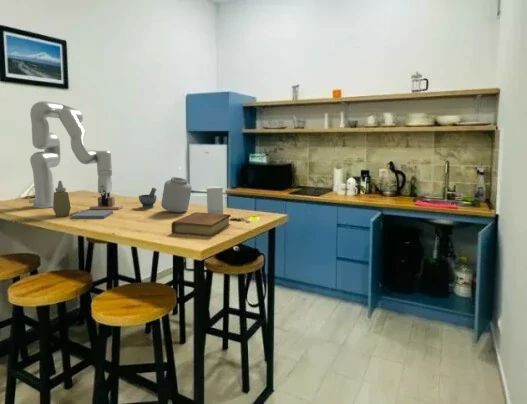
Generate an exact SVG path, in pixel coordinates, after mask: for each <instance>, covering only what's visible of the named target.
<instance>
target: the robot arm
mask: <svg viewBox="0 0 527 404" xmlns="http://www.w3.org/2000/svg"><path fill="white" fill-rule="evenodd" d="M47 118H55V119H59V121H60V122H61V124H62V126H63V127H64V129H65V131H66V132H67V134H68V136H69V138H70V145H71V146H70V147H71V148H70V149H71V151H72V153H73V154H74V156H75V158H76V159H77V160H78V162H79V163H81V164H83V165H91V164H96V168H97V169H96V171H97V172H96V173H97V176H98V178H97V192H98V194H99V195H100V197H101V199H102V206H108V199H107V197H112V195H111V192H112V190H113V187H112V185H113V184H112V177H111V176H112V175H113V172H112V171H113V170H112V169H113V168H112V153H111V151H109V150H94V149H91V150H89V149H88V150H87V147H86V146H85V145H84V141H83V137H84V136H85V134H86V130H85V128H84V127H83V125H82V122H83V118H84V117H83V114H82V112H81V111H80V110H79V109H77V108H74V107H71V106H68V105H65V104H62V103H59V102H52V101H46V100H45V101H44V100H42V101H41V100H40V101H37V102H36V103H34V104H33V105H32V106H31V108H30V120H31V121H30V123H31V140H32V141H31V142H32V146H33V147H34V148H36V149H37V150H44V151H36V152H34V153H33V154H31V156H30V158H29V163H30V165H31V169H32V174H33V186H34V198H33V199H28V203H29V204H33V205H32V207H33V208H37V209H45V208H46V209H47V208H48V209H49V208H53V200H54V193H55V189H54V179H53V173H52V170H51V169H50V168H55V167H58V166H59V165H60V163H61V141H60V138H59V136H58V135H57V134H55V133H53V132H50V125H49V122H48V120H47Z"/></svg>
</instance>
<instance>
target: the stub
mask: <svg viewBox="0 0 527 404" xmlns="http://www.w3.org/2000/svg"><path fill="white" fill-rule="evenodd" d="M107 199H108V206H102V199H101V196H99V197H97V204H93V205H91V206H89V210H120V209H122V208H123V207H124V204H116V203H115V201H116V200H115V196H111V197H107Z"/></svg>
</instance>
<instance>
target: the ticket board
mask: <svg viewBox="0 0 527 404" xmlns="http://www.w3.org/2000/svg"><path fill="white" fill-rule="evenodd" d="M112 214H114V210H111V209H103V210H102V209H98V210H97V209H93V210H92V209H89V210H86V209H85V210H80V211H78V212H76V213H74V214H72V215H70V219H75V220H76V219H79V220H81V219H87V220H88V219H90V220H92V219H94V220H95V219H96V220H97V219H98V220H99V219H102V220H103V219H104V220H105V219H106V218H108V217H109V216H111V215H112Z"/></svg>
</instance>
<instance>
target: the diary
mask: <svg viewBox="0 0 527 404" xmlns="http://www.w3.org/2000/svg"><path fill="white" fill-rule="evenodd" d="M230 217H231V214H229V213H227V214H225V213H223V214H214V213H207V212H199V211H198V212H197V211H195V212H193V213H190V214H188V215H185V216H184V217H181V218H179V219H176V220H174V221H172V222H171V226H170V227H171V233H172V234H174V233H176V234H175V235H186V234H189V236H199V235H201V237H211V236H212V237H214V236H216V235H217V234H218V232H219V233H221V232H222V231H224V230H225V229H226V227H227V226H228V227H230V226H231V223H230ZM229 225H230V226H229ZM228 227H227V228H228ZM224 228H225V229H224ZM223 229H224V230H223ZM221 230H222V231H221ZM215 234H216V235H215Z"/></svg>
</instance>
